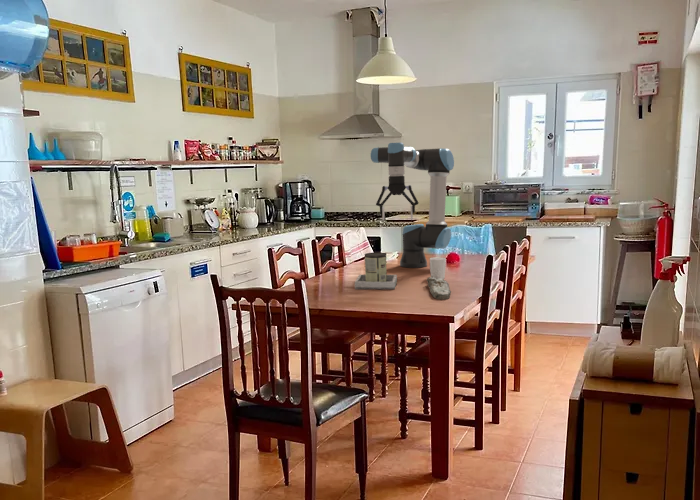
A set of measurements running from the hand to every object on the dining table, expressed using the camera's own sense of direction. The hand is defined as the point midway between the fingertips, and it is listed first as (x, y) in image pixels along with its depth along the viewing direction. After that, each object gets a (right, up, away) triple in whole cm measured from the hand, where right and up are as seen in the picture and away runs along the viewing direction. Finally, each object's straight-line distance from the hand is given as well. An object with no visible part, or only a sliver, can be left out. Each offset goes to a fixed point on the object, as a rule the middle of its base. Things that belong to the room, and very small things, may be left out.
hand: (397, 219), depth 287 cm
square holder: (-10, -31, -4) cm, 33 cm away
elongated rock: (+17, -33, -19) cm, 42 cm away
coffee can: (-11, -30, -4) cm, 32 cm away
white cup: (+21, -29, +10) cm, 37 cm away
